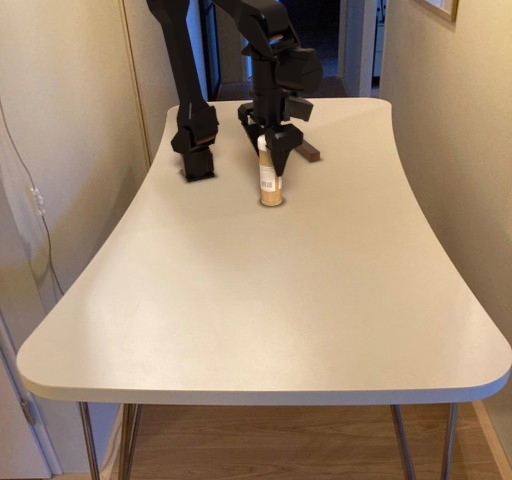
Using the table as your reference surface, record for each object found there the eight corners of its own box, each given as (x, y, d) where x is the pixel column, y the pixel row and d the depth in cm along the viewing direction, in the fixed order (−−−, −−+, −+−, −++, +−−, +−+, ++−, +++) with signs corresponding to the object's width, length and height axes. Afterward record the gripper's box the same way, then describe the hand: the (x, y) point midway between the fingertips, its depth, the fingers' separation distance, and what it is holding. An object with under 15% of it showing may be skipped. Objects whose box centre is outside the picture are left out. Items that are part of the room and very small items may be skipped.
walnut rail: (310, 162, 128) (311, 153, 126) (293, 147, 135) (293, 139, 134) (320, 160, 128) (320, 151, 127) (301, 145, 135) (302, 137, 134)
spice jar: (287, 201, 114) (286, 136, 105) (271, 209, 111) (269, 143, 103) (271, 194, 116) (269, 130, 107) (256, 202, 114) (252, 137, 105)
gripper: (331, 91, 94) (328, 177, 104) (287, 65, 107) (288, 143, 118) (271, 102, 91) (274, 189, 102) (234, 73, 105) (239, 153, 115)
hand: (270, 167), depth 109 cm, fingers open, 9 cm apart
